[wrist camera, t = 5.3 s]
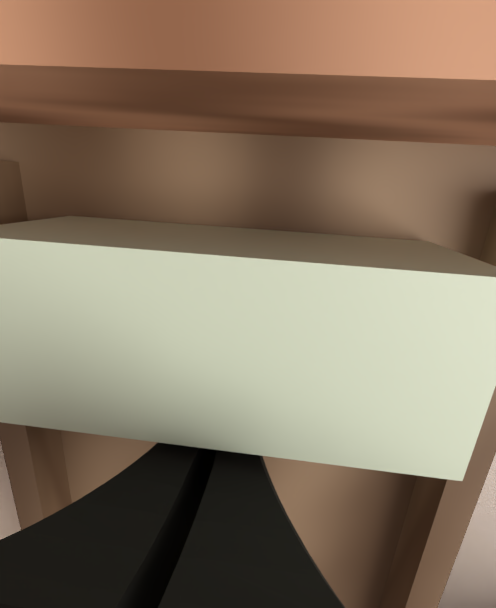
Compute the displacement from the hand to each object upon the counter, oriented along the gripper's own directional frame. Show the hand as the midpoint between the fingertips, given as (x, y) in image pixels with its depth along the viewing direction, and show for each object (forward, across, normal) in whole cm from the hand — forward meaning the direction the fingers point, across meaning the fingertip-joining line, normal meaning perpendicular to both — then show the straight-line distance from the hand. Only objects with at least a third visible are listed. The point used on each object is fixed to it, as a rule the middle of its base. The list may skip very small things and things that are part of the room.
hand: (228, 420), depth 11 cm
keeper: (+1, 0, -4) cm, 4 cm away
